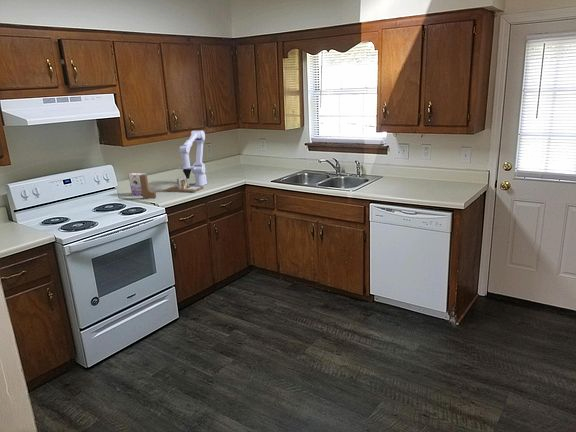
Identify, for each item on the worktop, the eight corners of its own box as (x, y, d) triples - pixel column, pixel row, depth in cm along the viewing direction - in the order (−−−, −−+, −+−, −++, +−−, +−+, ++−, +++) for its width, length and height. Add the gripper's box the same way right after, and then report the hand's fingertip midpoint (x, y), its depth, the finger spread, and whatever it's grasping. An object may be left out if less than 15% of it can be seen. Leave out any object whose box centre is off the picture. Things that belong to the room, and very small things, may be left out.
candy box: (149, 194, 352) (146, 173, 347) (143, 195, 347) (140, 174, 342) (137, 192, 358) (134, 172, 354) (131, 194, 354) (128, 173, 349)
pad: (191, 187, 359) (191, 186, 359) (200, 187, 356) (200, 187, 356) (186, 189, 352) (185, 189, 352) (194, 189, 349) (194, 189, 349)
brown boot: (156, 196, 341) (152, 173, 336) (155, 198, 337) (151, 174, 332) (144, 197, 341) (140, 174, 335) (143, 199, 336) (139, 175, 331)
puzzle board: (175, 187, 369) (175, 185, 369) (203, 188, 359) (203, 186, 359) (164, 191, 357) (164, 189, 356) (193, 192, 347) (193, 190, 346)
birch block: (183, 189, 361) (181, 179, 358) (187, 189, 359) (186, 179, 357) (180, 190, 357) (178, 180, 355) (184, 190, 356) (183, 180, 353)
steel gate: (186, 185, 363) (185, 175, 361) (188, 185, 362) (187, 175, 360) (178, 189, 353) (176, 178, 350) (180, 189, 352) (178, 178, 349)
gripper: (175, 162, 348) (177, 179, 352) (190, 162, 343) (193, 179, 347) (180, 160, 355) (182, 177, 359) (196, 160, 349) (198, 177, 353)
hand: (188, 178), depth 353 cm, fingers closed
